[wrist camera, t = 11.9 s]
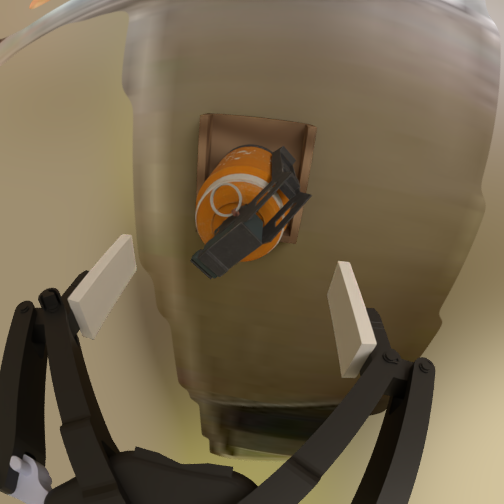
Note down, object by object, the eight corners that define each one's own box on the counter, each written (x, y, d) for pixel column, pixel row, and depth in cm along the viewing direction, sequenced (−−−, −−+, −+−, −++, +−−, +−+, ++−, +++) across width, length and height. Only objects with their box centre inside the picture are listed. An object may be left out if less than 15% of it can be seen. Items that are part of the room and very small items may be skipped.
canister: (205, 173, 37) (149, 245, 20) (266, 119, 33) (259, 142, 16) (249, 217, 40) (230, 316, 23) (310, 170, 36) (343, 243, 19)
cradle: (207, 113, 34) (200, 115, 30) (312, 124, 34) (316, 127, 30) (202, 219, 42) (195, 231, 39) (294, 230, 42) (296, 243, 39)
